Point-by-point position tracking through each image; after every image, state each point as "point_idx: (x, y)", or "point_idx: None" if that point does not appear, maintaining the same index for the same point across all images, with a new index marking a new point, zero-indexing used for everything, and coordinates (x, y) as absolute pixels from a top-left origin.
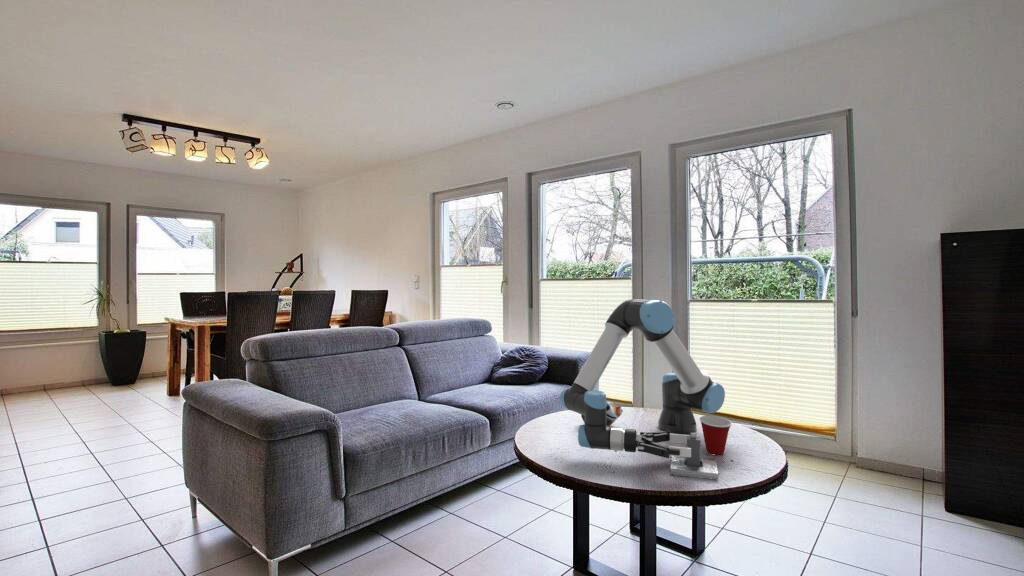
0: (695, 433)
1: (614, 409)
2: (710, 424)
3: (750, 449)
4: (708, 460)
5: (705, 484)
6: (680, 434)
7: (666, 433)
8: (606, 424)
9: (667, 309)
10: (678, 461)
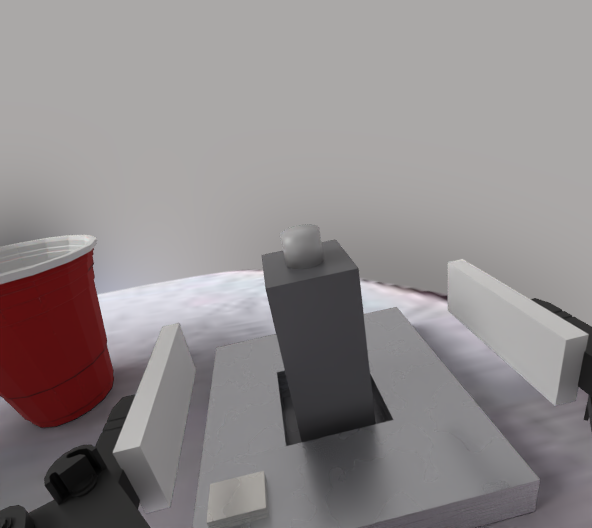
0: (296, 227)
1: None
2: (63, 256)
3: None
4: (257, 357)
5: (484, 344)
6: (148, 369)
7: (92, 498)
8: None
9: None
10: (349, 468)
